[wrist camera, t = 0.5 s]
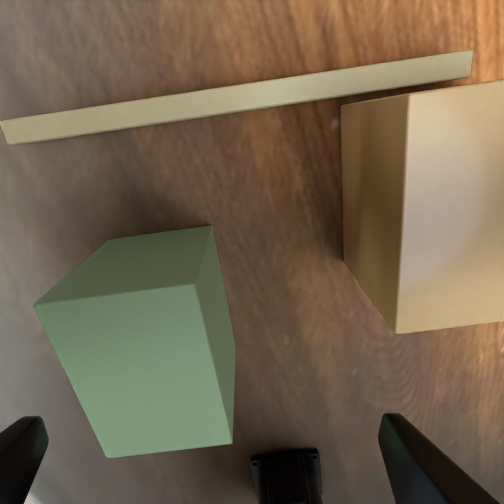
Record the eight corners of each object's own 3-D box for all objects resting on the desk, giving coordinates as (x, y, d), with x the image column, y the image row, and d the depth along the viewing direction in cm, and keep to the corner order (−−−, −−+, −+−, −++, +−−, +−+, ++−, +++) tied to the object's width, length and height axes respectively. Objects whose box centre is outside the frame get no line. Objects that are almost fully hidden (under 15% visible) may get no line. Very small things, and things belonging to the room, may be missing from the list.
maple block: (444, 249, 21) (550, 315, 14) (343, 262, 22) (395, 335, 14) (463, 86, 17) (623, 61, 10) (339, 105, 18) (408, 93, 10)
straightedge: (446, 81, 17) (470, 76, 16) (31, 143, 18) (7, 145, 16) (449, 56, 17) (474, 49, 15) (23, 120, 18) (-3, 120, 16)
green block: (235, 345, 24) (232, 444, 17) (148, 357, 24) (106, 459, 17) (212, 224, 20) (194, 283, 13) (108, 239, 20) (31, 304, 13)
